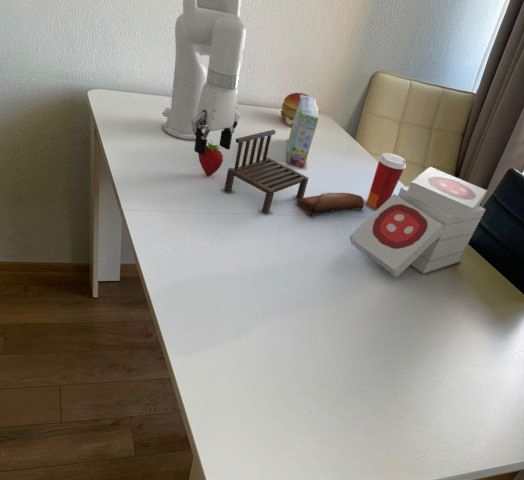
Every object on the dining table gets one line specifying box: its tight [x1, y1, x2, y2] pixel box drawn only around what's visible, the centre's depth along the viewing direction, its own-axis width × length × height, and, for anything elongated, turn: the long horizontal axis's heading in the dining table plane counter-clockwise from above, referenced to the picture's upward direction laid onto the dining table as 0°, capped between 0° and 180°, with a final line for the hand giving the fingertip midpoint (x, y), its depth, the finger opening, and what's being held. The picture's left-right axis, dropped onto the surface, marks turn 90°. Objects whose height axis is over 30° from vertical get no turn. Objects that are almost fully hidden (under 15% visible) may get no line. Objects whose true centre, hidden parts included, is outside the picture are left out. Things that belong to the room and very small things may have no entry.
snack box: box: [287, 95, 319, 168], centre depth 165 cm, size 21×6×15 cm, turn 179°
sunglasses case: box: [295, 192, 365, 216], centre depth 143 cm, size 18×7×7 cm
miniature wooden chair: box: [223, 129, 310, 215], centre depth 137 cm, size 14×17×14 cm
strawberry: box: [197, 138, 224, 177], centre depth 140 cm, size 6×8×10 cm
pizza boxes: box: [348, 166, 488, 278], centre depth 127 cm, size 19×30×18 cm, turn 128°
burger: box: [280, 92, 319, 126], centre depth 190 cm, size 14×14×10 cm
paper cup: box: [366, 152, 407, 211], centre depth 148 cm, size 8×8×14 cm
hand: (212, 150), depth 138 cm, fingers open, 9 cm apart
